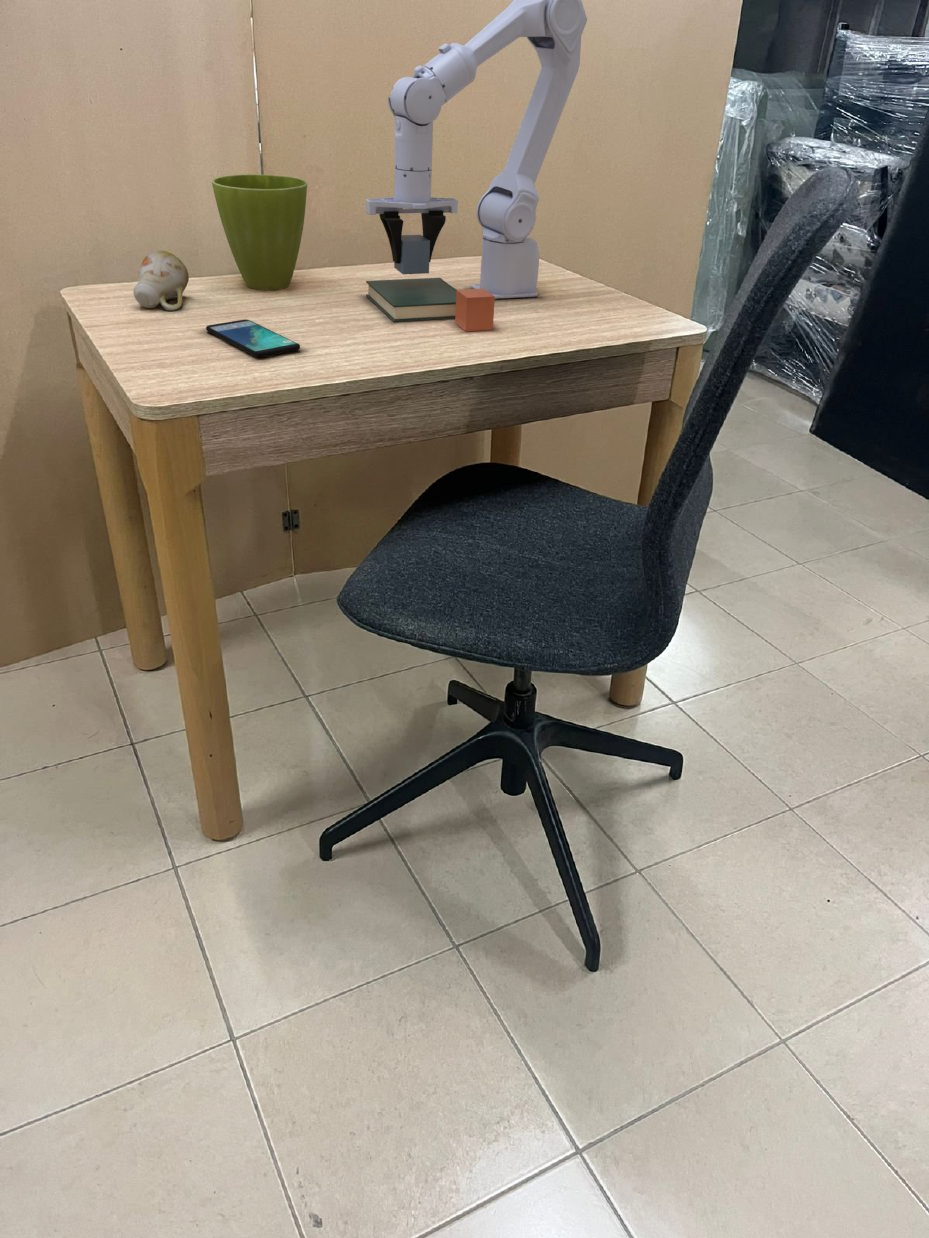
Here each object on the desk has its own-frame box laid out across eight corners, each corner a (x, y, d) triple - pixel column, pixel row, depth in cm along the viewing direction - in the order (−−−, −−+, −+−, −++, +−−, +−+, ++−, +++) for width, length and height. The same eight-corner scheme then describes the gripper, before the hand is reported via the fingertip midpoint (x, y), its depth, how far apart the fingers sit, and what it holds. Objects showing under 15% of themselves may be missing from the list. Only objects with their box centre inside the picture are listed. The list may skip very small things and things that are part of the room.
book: (439, 292, 155) (439, 277, 153) (471, 317, 143) (472, 301, 142) (366, 296, 150) (365, 280, 149) (393, 322, 139) (393, 305, 138)
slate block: (420, 266, 149) (420, 234, 146) (429, 273, 146) (430, 240, 143) (394, 267, 148) (394, 235, 145) (402, 274, 144) (403, 241, 142)
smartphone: (247, 318, 134) (302, 345, 125) (248, 323, 134) (302, 350, 125) (203, 325, 130) (256, 353, 121) (203, 331, 130) (257, 359, 121)
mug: (121, 311, 137) (116, 244, 136) (161, 325, 146) (157, 262, 145) (163, 304, 135) (157, 236, 134) (201, 319, 144) (196, 255, 143)
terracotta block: (481, 321, 142) (483, 288, 139) (492, 329, 138) (495, 296, 136) (454, 323, 140) (456, 290, 138) (465, 331, 137) (467, 297, 134)
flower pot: (203, 282, 152) (192, 178, 143) (273, 269, 162) (266, 171, 153) (260, 301, 144) (251, 192, 136) (329, 287, 154) (326, 184, 145)
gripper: (375, 173, 133) (375, 269, 141) (466, 172, 138) (462, 266, 145) (361, 165, 138) (362, 258, 146) (450, 165, 143) (446, 255, 151)
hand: (411, 261), depth 146 cm, fingers closed on slate block, 4 cm apart
